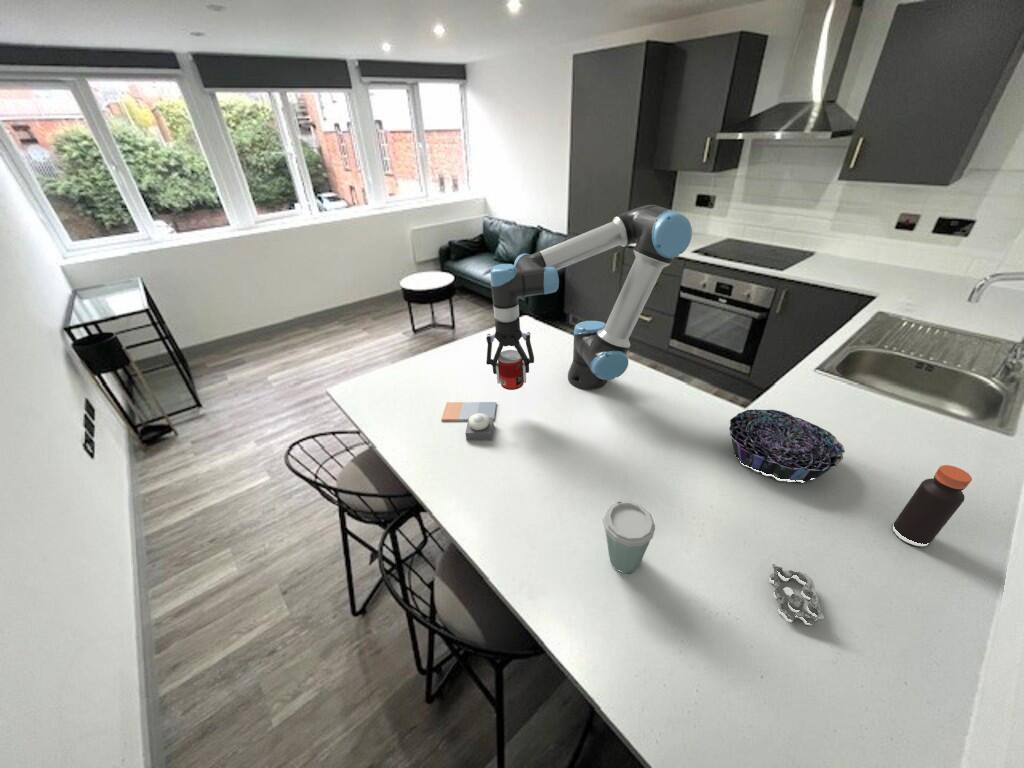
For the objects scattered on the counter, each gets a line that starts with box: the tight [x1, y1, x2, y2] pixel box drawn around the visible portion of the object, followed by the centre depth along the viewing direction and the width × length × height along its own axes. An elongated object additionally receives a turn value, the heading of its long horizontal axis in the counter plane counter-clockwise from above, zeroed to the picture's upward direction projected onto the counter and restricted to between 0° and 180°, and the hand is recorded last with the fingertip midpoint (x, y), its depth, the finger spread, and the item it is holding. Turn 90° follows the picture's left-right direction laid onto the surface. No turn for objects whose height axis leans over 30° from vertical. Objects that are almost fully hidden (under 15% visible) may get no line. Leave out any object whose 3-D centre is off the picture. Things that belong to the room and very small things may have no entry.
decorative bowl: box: [728, 409, 846, 482], centre depth 117 cm, size 26×28×10 cm
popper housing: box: [465, 417, 494, 441], centre depth 134 cm, size 8×8×3 cm
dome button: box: [469, 413, 489, 430], centre depth 133 cm, size 6×6×6 cm
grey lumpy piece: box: [769, 563, 825, 625], centre depth 84 cm, size 11×8×4 cm
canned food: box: [497, 349, 525, 391], centre depth 134 cm, size 8×8×11 cm
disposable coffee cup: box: [602, 499, 656, 573], centre depth 90 cm, size 11×11×15 cm
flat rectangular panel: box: [440, 401, 497, 422], centre depth 144 cm, size 18×10×1 cm, turn 87°
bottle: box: [893, 464, 973, 544], centre depth 90 cm, size 7×7×20 cm
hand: (512, 380), depth 137 cm, fingers closed on canned food, 8 cm apart
